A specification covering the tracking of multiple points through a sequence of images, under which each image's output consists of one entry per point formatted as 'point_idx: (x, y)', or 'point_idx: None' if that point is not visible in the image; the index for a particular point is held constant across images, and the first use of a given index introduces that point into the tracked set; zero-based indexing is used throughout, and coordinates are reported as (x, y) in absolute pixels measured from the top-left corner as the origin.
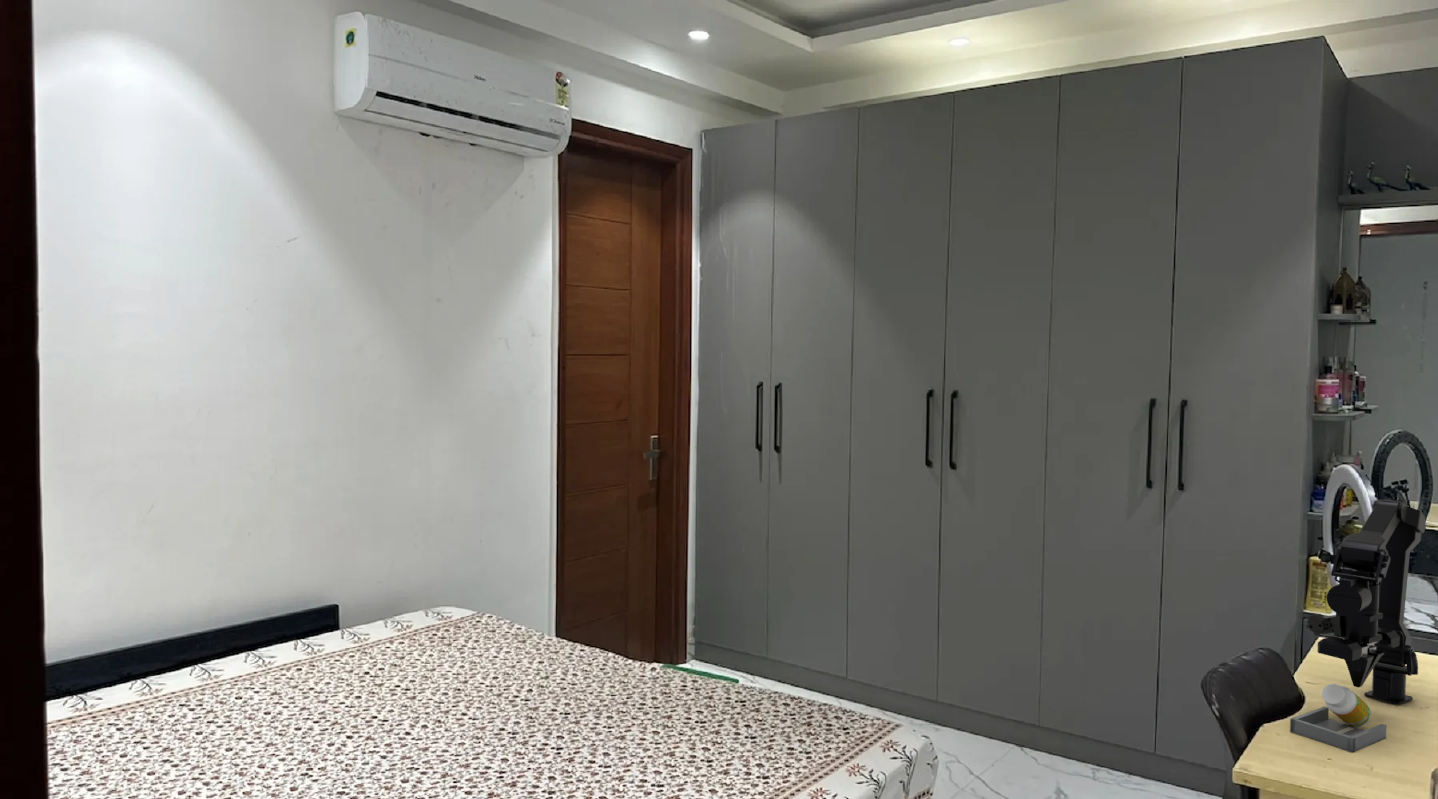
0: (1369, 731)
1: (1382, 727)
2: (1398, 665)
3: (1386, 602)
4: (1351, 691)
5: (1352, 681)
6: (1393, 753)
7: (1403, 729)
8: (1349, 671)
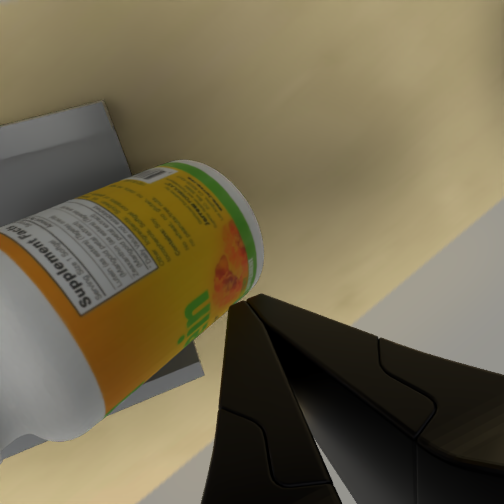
0: None
1: (169, 387)
2: None
3: None
4: (73, 435)
5: (226, 329)
6: (98, 447)
7: (330, 279)
8: (221, 396)
